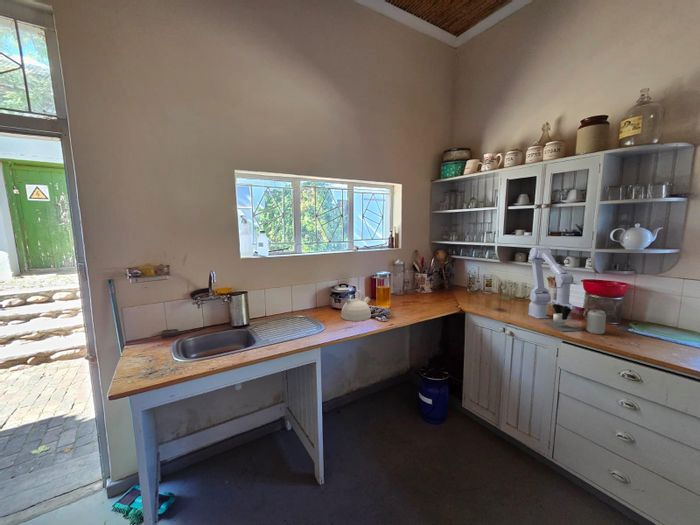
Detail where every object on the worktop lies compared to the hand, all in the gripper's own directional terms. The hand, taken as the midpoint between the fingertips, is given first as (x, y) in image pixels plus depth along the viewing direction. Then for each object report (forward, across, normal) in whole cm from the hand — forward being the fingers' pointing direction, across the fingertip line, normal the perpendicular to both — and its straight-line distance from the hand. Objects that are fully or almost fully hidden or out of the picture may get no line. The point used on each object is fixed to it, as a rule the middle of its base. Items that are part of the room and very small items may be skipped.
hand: (561, 318), depth 161 cm
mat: (+5, 0, 0) cm, 5 cm away
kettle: (+5, -39, -113) cm, 120 cm away
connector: (+2, 0, 0) cm, 2 cm away
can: (+5, +10, +11) cm, 16 cm away
